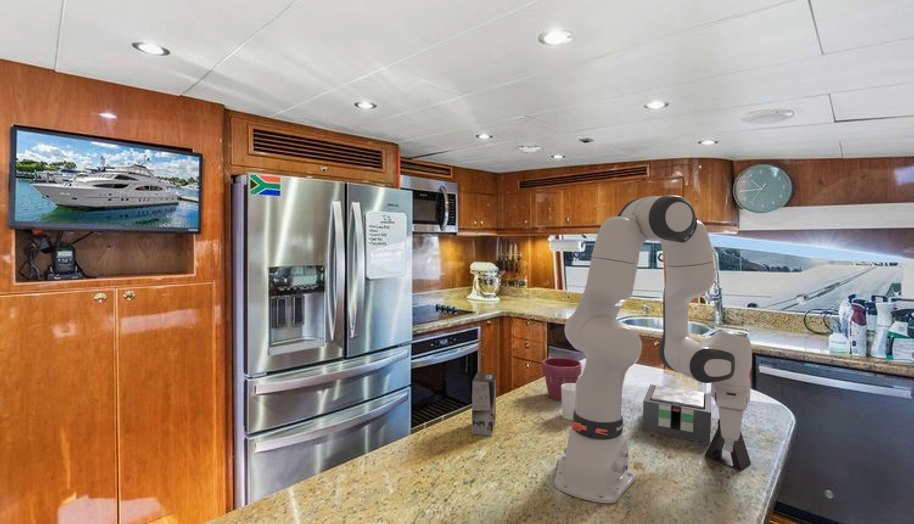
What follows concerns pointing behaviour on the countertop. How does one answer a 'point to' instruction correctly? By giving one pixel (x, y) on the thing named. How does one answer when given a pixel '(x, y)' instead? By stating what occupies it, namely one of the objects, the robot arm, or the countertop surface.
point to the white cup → (568, 399)
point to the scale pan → (678, 397)
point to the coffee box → (484, 403)
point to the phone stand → (737, 457)
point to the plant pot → (560, 374)
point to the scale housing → (677, 418)
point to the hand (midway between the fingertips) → (727, 443)
